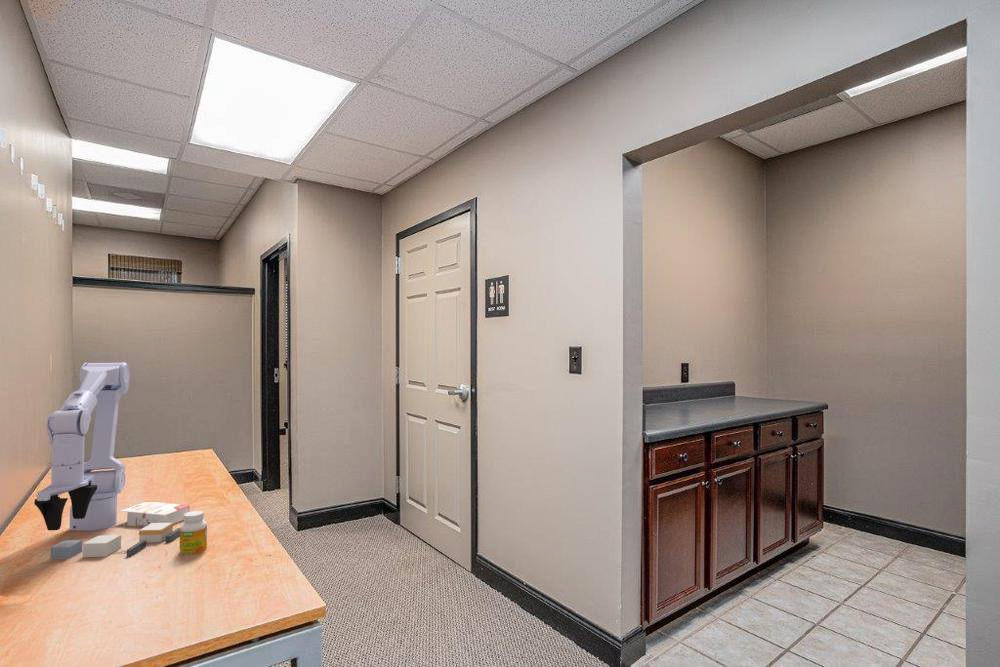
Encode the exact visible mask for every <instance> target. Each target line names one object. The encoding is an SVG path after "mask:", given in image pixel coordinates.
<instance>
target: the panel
mask: <svg viewBox="0 0 1000 667" xmlns="http://www.w3.org/2000/svg"><path fill="white" fill-rule="evenodd" d="M177 538H180V527H178V528H176V529H175V530H174V529H173V532H171V533H170V534H168V535H167V536H165V540H164V541H165V544H169V543H171V542H173V541H174V540H176V539H177ZM132 540H135V538H133V539H132ZM146 548H147V543H146V540H142V541H140V542H139V541H138V542H137V543H135V544H133V545H132V546H130V547H129V548H127V549H126V550H121V555H125V554H126V558H127V557H133V556H134V555H136V554H138V553H139V552H141V551H142V550H144V549H146ZM117 554H120V551H117Z"/></svg>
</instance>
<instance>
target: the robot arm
mask: <svg viewBox="0 0 1000 667" xmlns="http://www.w3.org/2000/svg"><path fill="white" fill-rule="evenodd" d="M130 376H131V374H130V366H129V365H128V364H127V363H126V362H125V361H122V362H84V363H83V364H82V365H81V366H80V369H79V382H80V384H81V385H80V387H79V388H78V390H76V391H75V390H74V391H73V392H71V393H70V394H69V395H68V397H67V399H66V400H65V401H64V403H63V404H62V406H61V408H60V409H59V410H55V411H54V412H53V413H52V412H51V413H50V414H49V415H48V418H47V420H46V421H47V422H46V432H47V435H48V443H49V445H51V464H50V465H51V467H50V468H51V469H50V471H51V473H50V476H51V477H50V478H51V480H50V484H48V486H46V487H44V488H43V489H41V490H39V491H37V492H36V494H37V495H36V498H35V499H34V506H35V507H37V509H38V510H39V512H40V513H41V516H42V518H43V519H44V524H45V526H46V529H47V531H59V530H60V529H61V526H62V521H63V520H62V519H63V513H64V509H65V506H66V503H67V501H68V500H69V499H70V502H71V505H70V508H69V531H98V530H104V529H107V528H111V527H114V526H116V525H117V524H118V495H119V494H121V493H122V491H124V488H125V485H126V473H125V472H126V471H125V470H126V466H125V464H124V463H123V462H122V461H120V460H118V459H117V458H115V457H114V455H115V454H114V453H115V444H116V443H115V442H116V434H117V424H118V415H119V405H120V400H121V397H122V396H123V395H126V394H128V390H129V387H130V386H129V385H130ZM95 408H96V411H95V420H94V429H93V437H92V438H93V439H92V447H91V453H90V454H91V456H90V458H89V460H87V461H86V462H85V439H86V438H85V435H86V434H87V433H88V431H89V429H90V428H89V427H90V424H91V420H92V417H91V415H92V414H93V411H94V410H95ZM66 493H68V495H69V498H68V497H62V498H61V497H60V495H63V494H66Z"/></svg>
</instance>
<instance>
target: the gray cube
mask: <svg viewBox="0 0 1000 667" xmlns="http://www.w3.org/2000/svg"><path fill="white" fill-rule="evenodd" d="M49 549H50V550H49V559H50V560H67V559H68V560H69V559H71V558H73V557H75V556H77V555H80V553H83V539H77V540H76V539H75V540H71V539H70V540H63V541H60V542H58V543H57V544H54V545H53V546H50V548H49Z"/></svg>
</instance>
